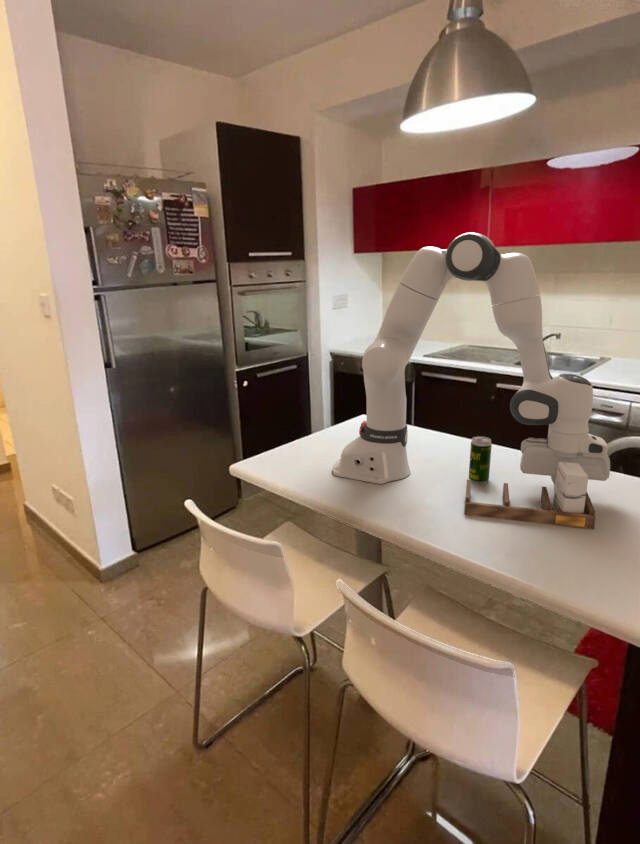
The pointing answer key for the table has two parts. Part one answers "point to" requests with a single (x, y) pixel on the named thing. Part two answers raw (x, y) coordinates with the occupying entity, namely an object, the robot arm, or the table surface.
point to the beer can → (480, 460)
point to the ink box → (570, 488)
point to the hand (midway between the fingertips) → (560, 491)
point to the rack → (531, 511)
